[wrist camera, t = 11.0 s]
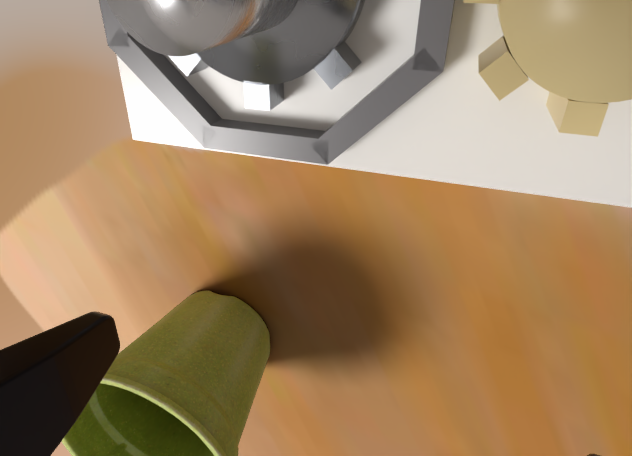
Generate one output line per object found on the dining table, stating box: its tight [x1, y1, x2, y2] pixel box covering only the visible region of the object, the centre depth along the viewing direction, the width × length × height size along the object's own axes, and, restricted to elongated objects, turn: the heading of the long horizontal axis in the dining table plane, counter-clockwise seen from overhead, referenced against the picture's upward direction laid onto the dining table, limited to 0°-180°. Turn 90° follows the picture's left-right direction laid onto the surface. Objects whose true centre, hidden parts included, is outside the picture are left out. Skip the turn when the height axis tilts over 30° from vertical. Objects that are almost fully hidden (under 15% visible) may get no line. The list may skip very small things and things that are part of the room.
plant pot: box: [61, 290, 270, 456], centre depth 24 cm, size 9×9×9 cm
